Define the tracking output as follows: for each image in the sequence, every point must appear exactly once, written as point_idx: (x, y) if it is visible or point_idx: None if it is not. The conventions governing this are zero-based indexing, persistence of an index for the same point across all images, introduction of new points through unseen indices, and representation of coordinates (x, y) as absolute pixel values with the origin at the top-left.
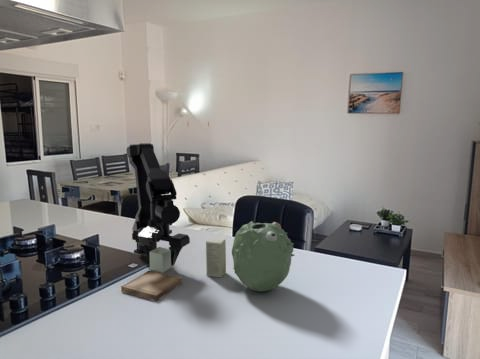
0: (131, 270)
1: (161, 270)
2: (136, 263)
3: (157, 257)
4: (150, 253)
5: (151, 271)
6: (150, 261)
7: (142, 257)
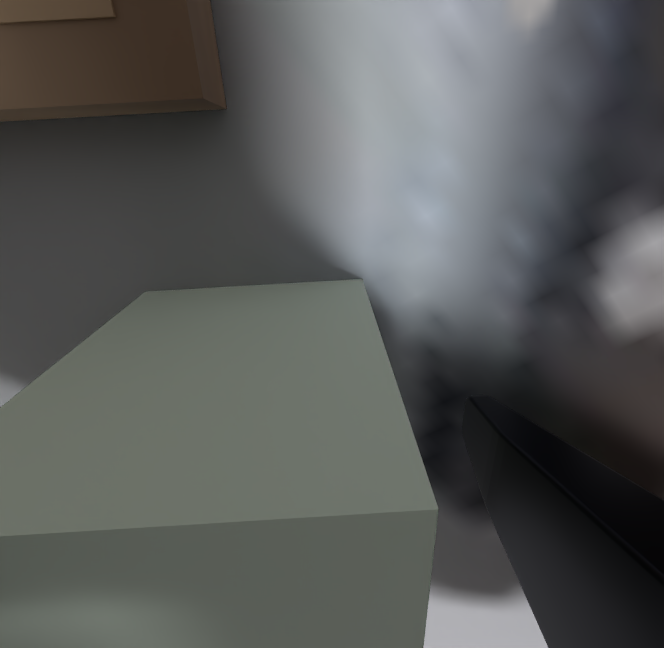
0: (602, 104)
1: (154, 299)
2: (640, 334)
3: (132, 420)
4: (381, 464)
5: (119, 79)
6: (361, 335)
7: (643, 475)
